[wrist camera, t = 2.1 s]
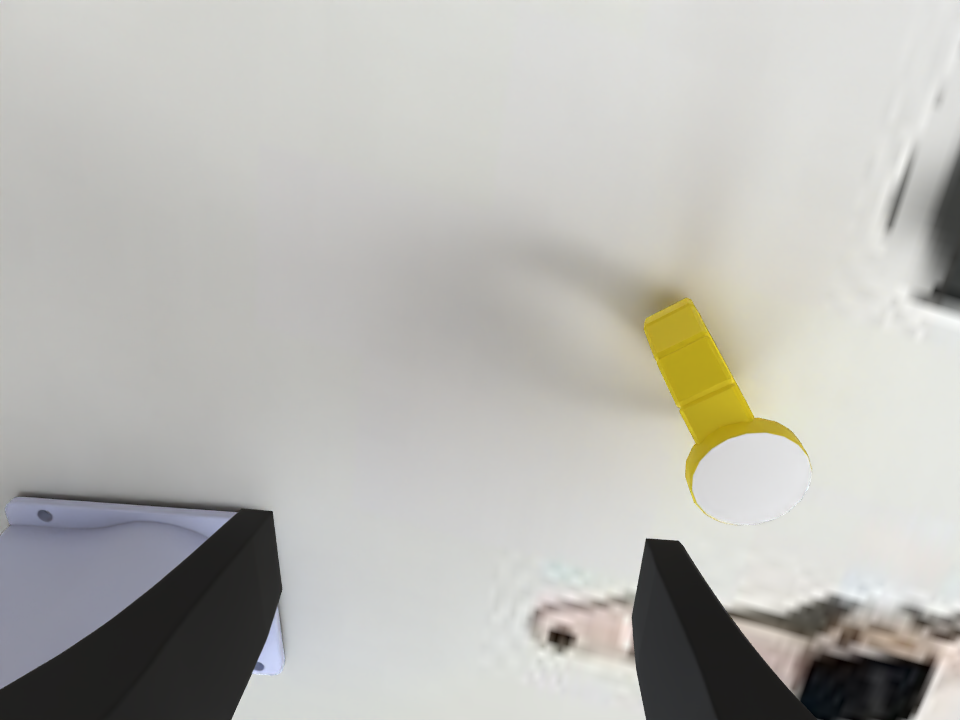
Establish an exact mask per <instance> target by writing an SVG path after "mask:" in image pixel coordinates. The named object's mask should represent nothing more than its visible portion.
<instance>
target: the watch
mask: <svg viewBox="0 0 960 720" xmlns="http://www.w3.org/2000/svg"><path fill="white" fill-rule="evenodd" d="M644 331H645V334H646V337H647V340H648V342H649V345H650V348H651V350H652V353H653V356H654V358H655V360H656V361H657V365H658V367H659V369H660V371H661V374H662V376H663V378H664V380H665V382H666V384H667V387H668V389H669V391H670V393H671V395H672V397H673V399H674V402H675V404H676V405H677V407H678V408H680V411H679V412H680V414H681V416H682V418H683V420H684V421H685V423H686V425H687V427H688V429H689V431H690V433H691V435H692V437H693V439H694V441H695V443H696V444H695V445H694V446H693V447H692V449H691V451H690V454H689V456H688V458H687V460H686V470H685V477H686V480H687V483H688V486H689V489H690V492H691V495H692V498H693V501H694V503H695V504H696V505H697V506H698V507H699V508H700V509H701V510H702V512H703V513H704V514H706V515H707V516H709V517H711V518H713V519H715V520H717V521H719V522H723V523H727V524H732V525H756V524H760V523H764V522H767V521H771V520H774V519H776V518H778V517H780V516H781V515H783V514H785V513H787V512H789V511H790V510H791V509H792V508H793V507H794V506H795V505H797V504H798V503H799V502H800V501H801V500H802V498H803V497H804V495H805V493H806V491H807V490H808V488H809V486H810V481H811V474H812V468H811V464H810V460H809V457H808V454H807V453H806V451H805V449H804V448H803V446H802V444H801V442H800V441H799V440H798V438H797V437H796V436H795V435H794V433H793V432H792V431H791V430H790V429H788V428H786V427H785V426H783V425H781V424H779V423H778V422H775V421H771V420H766V419H762V418H754V416H753V414H752V412H751V410H750V408H749V406H748V404H747V402H746V400H745V399H744V397H743V395H742V393H741V391H740V389H739V387H738V385H737V383H736V382H735V380H734V378H733V376H732V374H731V372H730V370H729V369H728V367H727V365H726V363H725V361H724V359H723V357H722V356H721V354H720V352H719V350H718V348H717V346H716V344H715V343H714V341H713V339H712V337H711V335H710V333H709V331H708V330H707V328H706V326H705V324H704V322H703V320H702V318H701V315H700V313H699V312H698V311H697V309H696V307H695V306H694V304H693V302H692V300H691V299H689V298H685V299H683V300H681V301H679V302H677V303H675V304H673V305H671V306H669V307H667V308H665V309H663V310H661V311H659V312H657V313H655V314H653V315H651V316H649V317H647V318H646V319H645V322H644Z"/></svg>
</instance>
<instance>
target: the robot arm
mask: <svg viewBox="0 0 960 720" xmlns="http://www.w3.org/2000/svg"><path fill="white" fill-rule="evenodd" d="M47 511H48V512H49V513H50V514H49V513H48V512H47ZM5 513H6V516H7V518H8V521H9V524H10V526H9V527H8V528H7V529H6V530H5V531H4V532H3V533H2V534H1V535H0V720H231V719H232V717H233V715H234V712H235V710H236V708H237V706H238V703H239V701H240V699H241V697H242V695H243V692H244V690H245V688H246V686H247V683H248V681H249V679H250V677H251V675H252V674H263V675H277V674H279V673H281V672H282V670H283V667H284V665H285V656H284V649H283V641H282V634H281V626H280V618H279V611H278V602H279V599H280V595H281V592H282V584H281V576H280V568H279V560H278V552H277V543H276V535H275V527H274V519H273V511H264V510H250V509H241V510H240V511H239V512H227V511H213V510H199V509H185V508H171V507H157V506H144V505H130V504H116V503H102V502H88V501H74V500H60V499H46V498H32V497H15V498H13V499H12V500H11V501H10V502H9V503H8V504H7V505H6V507H5ZM632 626H633V639H634V651H635V661H636V670H637V676H638V681H639V686H640V691H641V696H642V701H643V706H644V711H645V716H646V720H817V719H816V718H815V717H814V716H813V715H812V714H811V712H810V711H809V710H808V709H807V708H806V707H805V706H804V705H803V704H802V703H801V702H800V701H799V700H798V699H797V698H796V697H795V695H794V694H793V693H792V692H791V691H790V690H789V689H788V688H787V687H786V685H785V684H784V683H783V682H782V681H781V680H780V679H779V677H778V676H777V675H776V674H775V673H774V672H773V670H772V669H771V668H770V667H769V666H768V664H767V663H766V662H765V661H764V659H763V658H762V657H761V656H760V655H759V653H758V652H757V651H756V650H755V648H754V647H753V646H752V645H751V643H750V642H749V641H748V639H747V638H746V637H745V636H744V634H743V633H742V632H741V630H740V629H739V628H738V626H737V625H736V623H735V622H734V621H733V619H732V618H731V617H730V615H729V614H728V613H727V611H726V610H725V609H724V607H723V606H722V604H721V603H720V601H719V600H718V599H717V597H716V596H715V594H714V593H713V591H712V590H711V588H710V587H709V585H708V584H707V582H706V581H705V579H704V578H703V576H702V575H701V573H700V572H699V570H698V569H697V567H696V566H695V564H694V562H693V561H692V559H691V558H690V556H689V554H688V553H687V551H686V550H685V548H684V546H683V545H682V544H681V543H680V542H679V541H674V540H660V539H646V542H645V547H644V553H643V558H642V564H641V569H640V575H639V580H638V586H637V591H636V597H635V602H634V608H633V613H632Z"/></svg>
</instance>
